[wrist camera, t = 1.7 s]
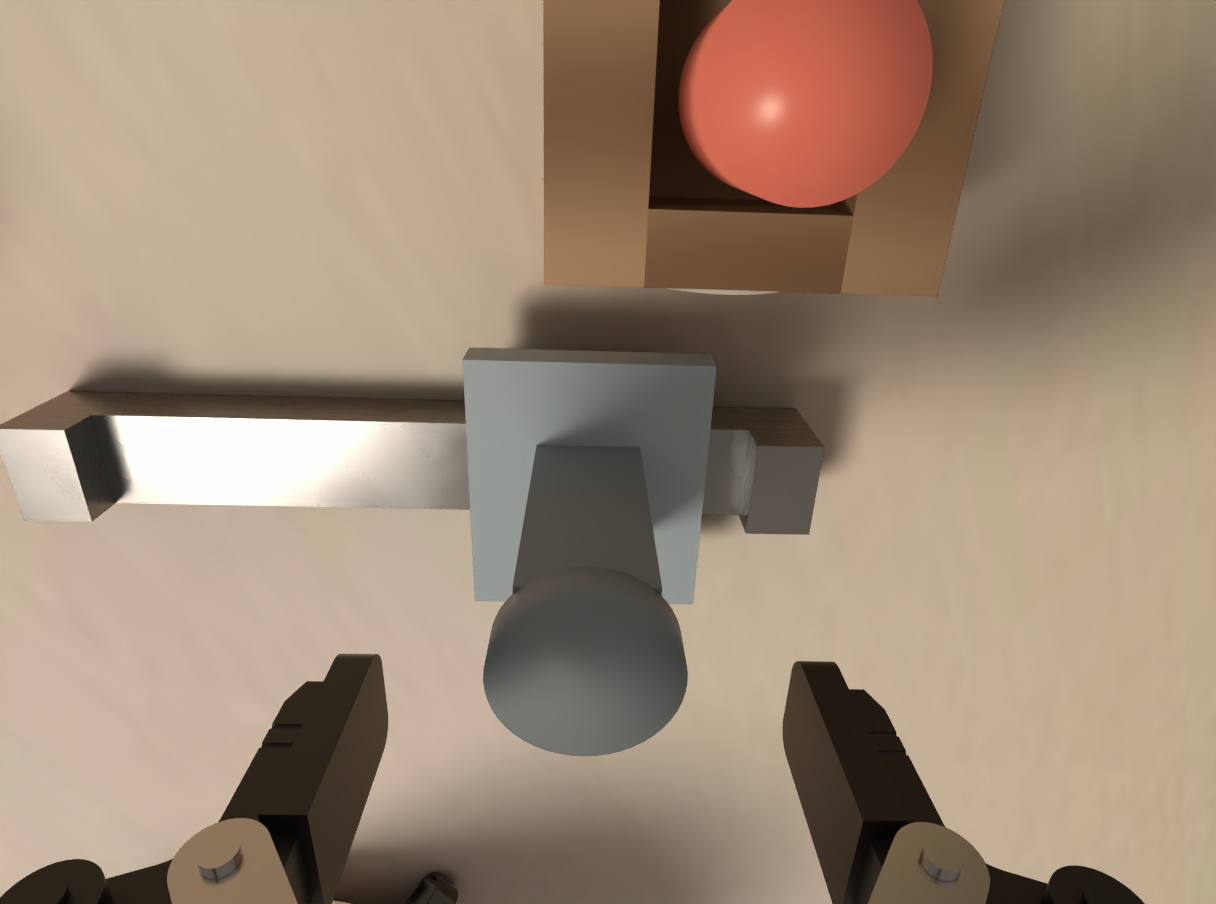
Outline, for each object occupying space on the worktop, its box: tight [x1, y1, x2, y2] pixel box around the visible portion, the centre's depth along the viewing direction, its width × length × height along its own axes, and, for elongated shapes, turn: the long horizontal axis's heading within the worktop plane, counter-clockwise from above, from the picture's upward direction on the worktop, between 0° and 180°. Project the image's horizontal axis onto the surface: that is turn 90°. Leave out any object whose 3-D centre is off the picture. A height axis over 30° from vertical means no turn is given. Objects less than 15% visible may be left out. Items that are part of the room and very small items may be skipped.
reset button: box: [678, 0, 933, 208], centre depth 11 cm, size 3×3×3 cm
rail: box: [0, 391, 824, 535], centre depth 23 cm, size 3×24×3 cm, turn 88°
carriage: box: [463, 348, 717, 756], centre depth 19 cm, size 8×7×11 cm
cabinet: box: [544, 0, 1004, 296], centre depth 17 cm, size 7×8×8 cm
